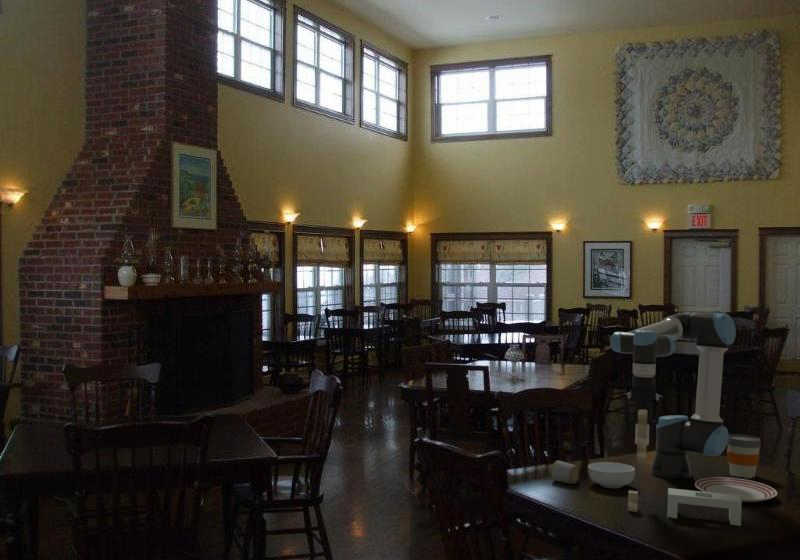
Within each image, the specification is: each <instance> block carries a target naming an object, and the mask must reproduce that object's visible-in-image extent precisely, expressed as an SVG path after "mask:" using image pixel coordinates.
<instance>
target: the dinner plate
mask: <svg viewBox="0 0 800 560" xmlns="http://www.w3.org/2000/svg"><path fill="white" fill-rule="evenodd" d="M694 486H695V488H696V489H698V490H700V492H710V493H719V494H729V495H739V496H740V499H741V502H754V503H759V502H765V501H768V500H771V499H773V498H775V497H776V496H778V492H777V490H776V489H775V488H773V487H772V486H770V485H767V484H765V483H761V482H759V481H758V482H757V481H754V480H750V479H746V478H738V477H724V476H723V477H722V476H720V477H719V476H718V477H716V476H715V477H714V476H713V477H712V476H711V477H705V478H699V479H697V480H696V481H695V482H694Z"/></svg>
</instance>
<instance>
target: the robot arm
mask: <svg viewBox="0 0 800 560" xmlns="http://www.w3.org/2000/svg"><path fill="white" fill-rule="evenodd" d="M736 331H737V329H736V324H735V321H734V320H733V317H731V315H729V314H728V313H723V312H713V311H712V312H709V311H695V310H693V311H683V312H678V313H676V314H672V315H669V316H667V317H664V318H663V319H662V320H661V321H659V322H656V323H652V324H649V325H646V326H642V327H639V328H637V329H633V330H630V331H626V332H625V331H615V332H614V333H613V334H612V335H611V337H610V339H609V340H610V341H609V342H610V347H611V350H612V351H614V352H616V353H620V354H629V355H630V354H631V355H632V374H633V375H632V381H631V389H630V391H629V392H624V393H623V395H622V396H623V398H624V400H625V411H626V412H625V413H626V415H625V416H626V422H627V423H630V424H631V433H632V434H633V435H635V437H634V445H637V434H638V423H637V421H638V410H640V409H639V408H640V404H642V403H644V404H646V410H647V412H648V413H647V421H648V424H647V440H646V445H647V446H649V444H650V436H653V433H654V431H653V430H654V429H653V428H654V426H655V425H656V427H655V428H656V429H655V430H656V432H655V433H656V434H655V436H656V437H655V455H654V456H653V460H652V463H651V465H650V473H651V475H652V476H656V477H659V478H662V479H663V478H665V479H671V480H672V479H673V480H684V479H685V480H687V479H690V478H691V477H692V469H691V466H690V462H689V459H688V453H689V452H690V453H693V454H694V453H695V454H701V455H704V456H712V457H717V456H720V455H721V454H722V453H723V452H724V451H725V449H726V447H727V442H728V436H729V435H730V434H729V430H728V428H727V427H726V426H724V420H723V418H721V417H720V408H721V407H720V406H721V395H722V392H721V391H722V380H723V369H724V368H723V367H724V353H726V352H727V351H728V350H729V345H732V344H733V343H734V342H735V339H736V335H737V332H736ZM678 340H681V341H691V342H695V348H697V349H698V351H699V355H698V356H699V357H698V372H697V381H696V382H697V383H696V384H697V385H696V397H695V413H693V414H692V416H690V420H689V417H688V416H687V415H683V414H682V415H679V414H675V415H672V414H671V415H663V416H660V413H661V412H660V411H661V404H662V402H663V400H664V396H663V395H662V394H661V395H660V394H659V393H657V391H656V377H655V376H656V373H657V371H656V368H657V367H656V366H657V365H656V359H657V358H660V357H669V356H671V355H672V354H674V352H675V350H676V346H677V345H676V341H678ZM631 397H633V399H634V400H635V407H634V411H633V417H631V404H630V403H631V401H630V399H631ZM654 398H655V400H656V401H657V402H656V408H655V418H654V420H653V414H652V406H651V405H652V404H651V403H652V401H653V399H654Z"/></svg>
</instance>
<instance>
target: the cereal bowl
mask: <svg viewBox="0 0 800 560" xmlns="http://www.w3.org/2000/svg"><path fill="white" fill-rule="evenodd" d="M587 473H588V476H589V478H590V480H592V481H593V482H594V483H596V484H598V485H600V487H603V488H607V489H621V488H623V486H627V485H629V484H631V483H632V482H633V481H634V478H635V475H636V469H635V467H634V466H632V465H629V464H625V463H620V462H611V461H599V462H592V463H590V464H588V465H587Z"/></svg>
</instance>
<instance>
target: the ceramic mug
mask: <svg viewBox="0 0 800 560" xmlns="http://www.w3.org/2000/svg"><path fill="white" fill-rule="evenodd" d="M579 472H580V470H579V468H578V466H577V465H575V464H573V463H569V462H565V461H563V460H555V462H554V463H553V464H552V468H551V479H552V480H553V481H554V482H558V483H563V484H568V485H573V484H574V485H575V483H577V481H578V479H579V475H580V473H579Z"/></svg>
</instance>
